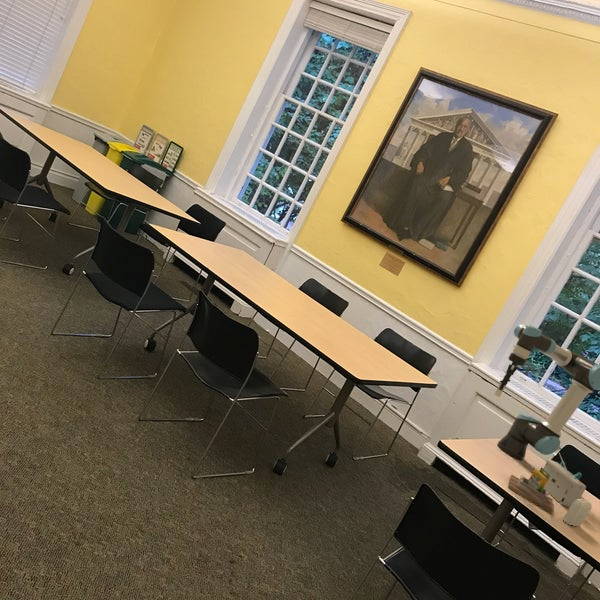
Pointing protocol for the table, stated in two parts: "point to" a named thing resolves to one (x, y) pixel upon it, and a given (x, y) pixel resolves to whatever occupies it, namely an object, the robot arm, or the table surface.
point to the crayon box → (538, 479)
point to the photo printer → (577, 512)
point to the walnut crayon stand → (531, 493)
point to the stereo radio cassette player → (562, 483)
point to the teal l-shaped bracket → (571, 473)
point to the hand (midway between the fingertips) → (498, 393)
